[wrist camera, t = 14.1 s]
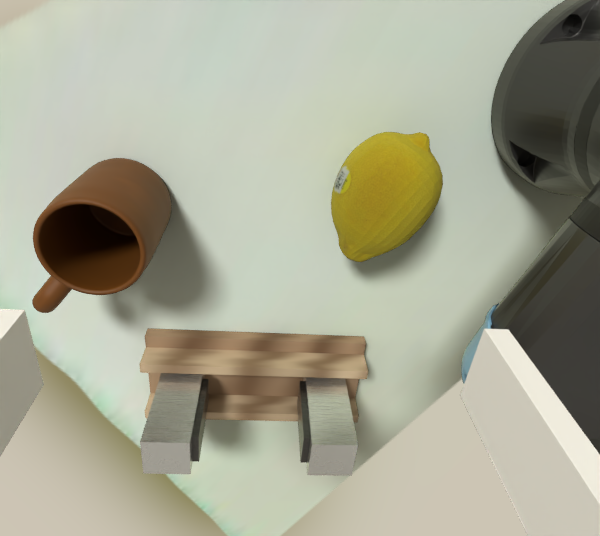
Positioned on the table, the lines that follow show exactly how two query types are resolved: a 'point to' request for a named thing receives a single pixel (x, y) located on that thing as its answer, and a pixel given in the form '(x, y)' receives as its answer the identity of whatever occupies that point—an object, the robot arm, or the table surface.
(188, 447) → the block
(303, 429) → the finger
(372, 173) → the lemon
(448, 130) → the table surface
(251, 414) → the rail
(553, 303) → the robot arm
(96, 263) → the mug
